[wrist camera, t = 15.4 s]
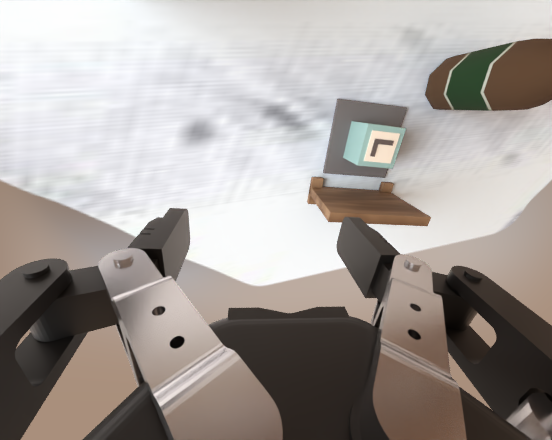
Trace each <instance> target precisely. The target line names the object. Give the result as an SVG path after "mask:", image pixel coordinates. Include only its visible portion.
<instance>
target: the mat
mask: <svg viewBox="0 0 552 440" xmlns="http://www.w3.org/2000/svg"><path fill="white" fill-rule="evenodd" d="M406 109H407V108H406V107H399V106H391V105H383V104H375V103H367V102H359V101H351V100H343V99H337V104H336V109H335V114H334V119H333V124H332V129H331V134H330V139H329V145H328V150H327V155H326V160H325V165H324V170H323V173H329V174H343V175H356V176H369V177H382V178H385V175H386V172H387V169H388V168H379V167H369V166H358V165H356V164H354V163H352V162H350V161H348V160H347V159H345V158H343V156H344V151H345V147H346V143H347V139H348V134H349V130H350V126H351V122H352V121H355V122H363V123H371V124H379V125H386V126H393V127H400V128H401V125H402V122H403V119H404V115H405V112H406Z"/></svg>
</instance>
